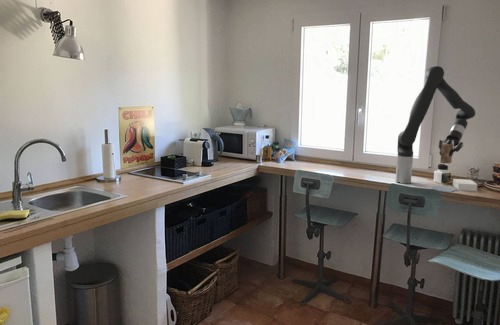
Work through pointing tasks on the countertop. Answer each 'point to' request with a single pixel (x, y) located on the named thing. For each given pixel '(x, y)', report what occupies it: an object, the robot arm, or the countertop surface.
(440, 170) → the medicine bottle
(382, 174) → the countertop surface
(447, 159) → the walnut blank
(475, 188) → the shelf riser
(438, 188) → the slate mat
